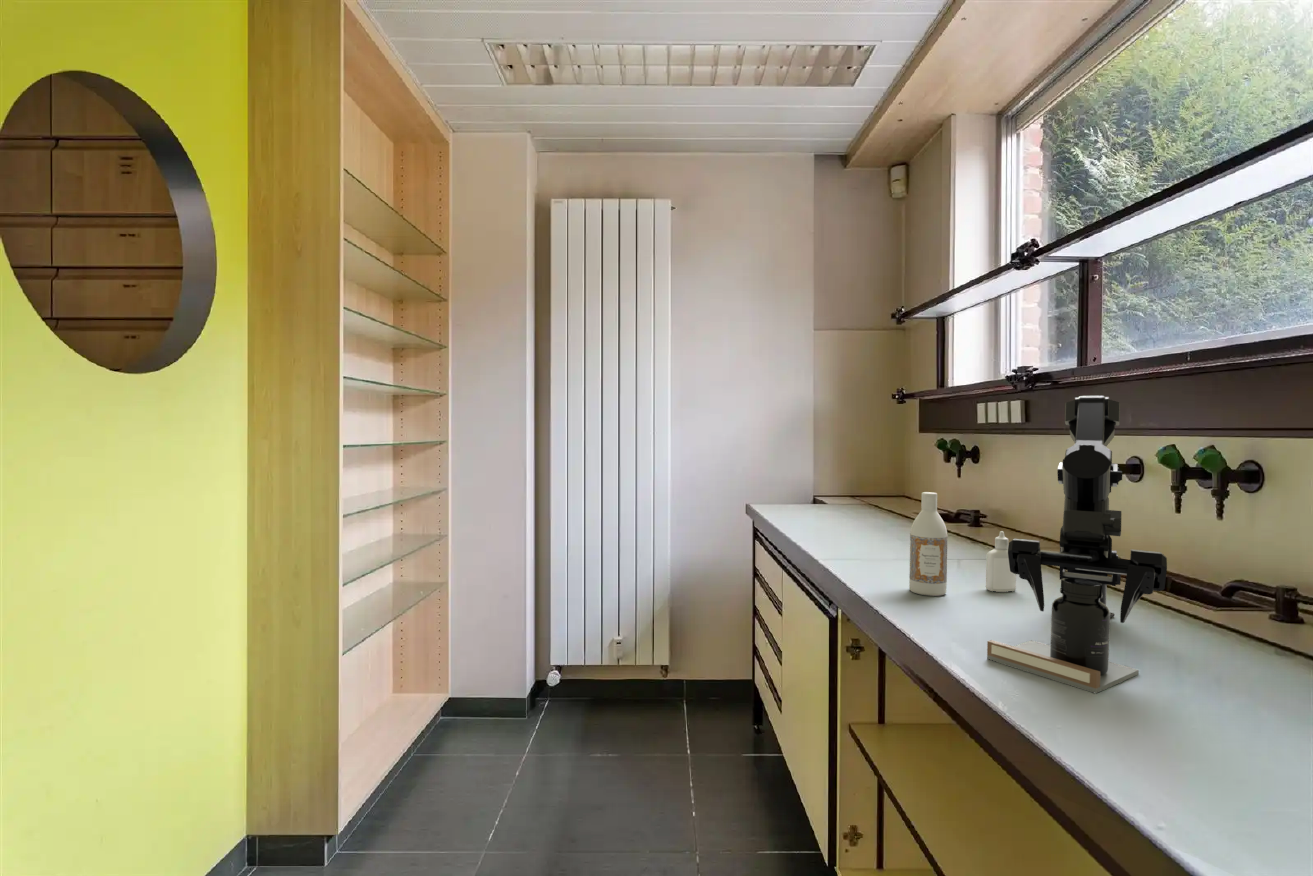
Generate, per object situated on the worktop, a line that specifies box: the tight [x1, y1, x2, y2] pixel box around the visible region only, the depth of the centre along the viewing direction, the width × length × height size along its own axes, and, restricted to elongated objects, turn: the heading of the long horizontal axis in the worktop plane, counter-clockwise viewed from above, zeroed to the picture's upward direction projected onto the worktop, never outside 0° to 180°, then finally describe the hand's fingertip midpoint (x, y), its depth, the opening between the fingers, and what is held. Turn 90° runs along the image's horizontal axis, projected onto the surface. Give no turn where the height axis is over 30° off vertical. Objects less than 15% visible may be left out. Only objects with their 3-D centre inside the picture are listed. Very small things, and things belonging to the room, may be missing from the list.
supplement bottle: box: [1049, 578, 1111, 676], centre depth 93 cm, size 7×7×12 cm
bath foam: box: [908, 491, 948, 597], centre depth 135 cm, size 7×7×20 cm
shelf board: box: [986, 639, 1140, 694], centre depth 95 cm, size 12×14×3 cm
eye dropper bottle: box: [985, 530, 1017, 593], centre depth 137 cm, size 4×6×12 cm
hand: (1080, 615), depth 91 cm, fingers open, 9 cm apart
